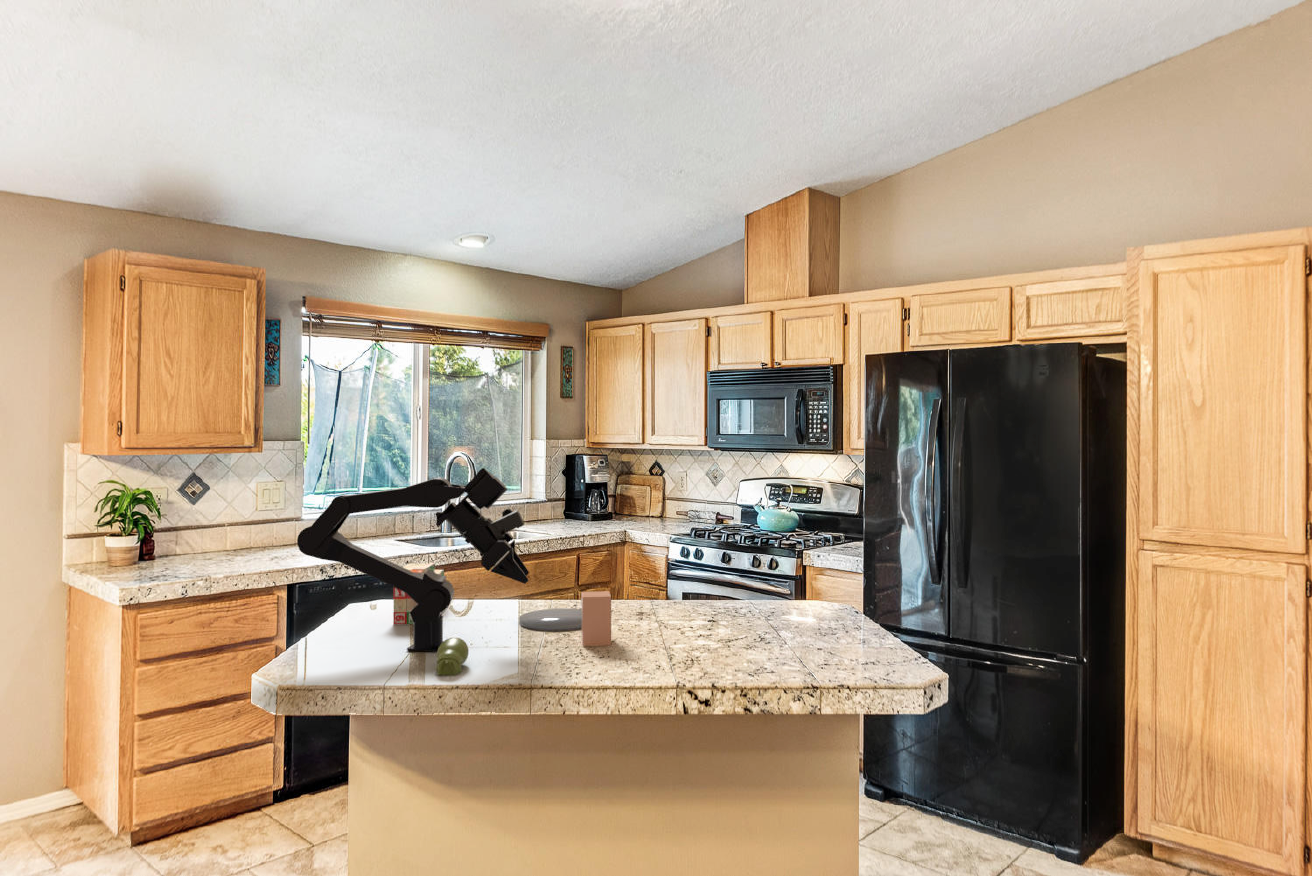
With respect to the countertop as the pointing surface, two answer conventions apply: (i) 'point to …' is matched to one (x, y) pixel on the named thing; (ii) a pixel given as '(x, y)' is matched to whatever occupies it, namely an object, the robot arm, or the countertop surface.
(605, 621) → the tall clay pillar
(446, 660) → the green rounded piece
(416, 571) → the stack of blocks
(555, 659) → the countertop surface
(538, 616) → the slate plate
